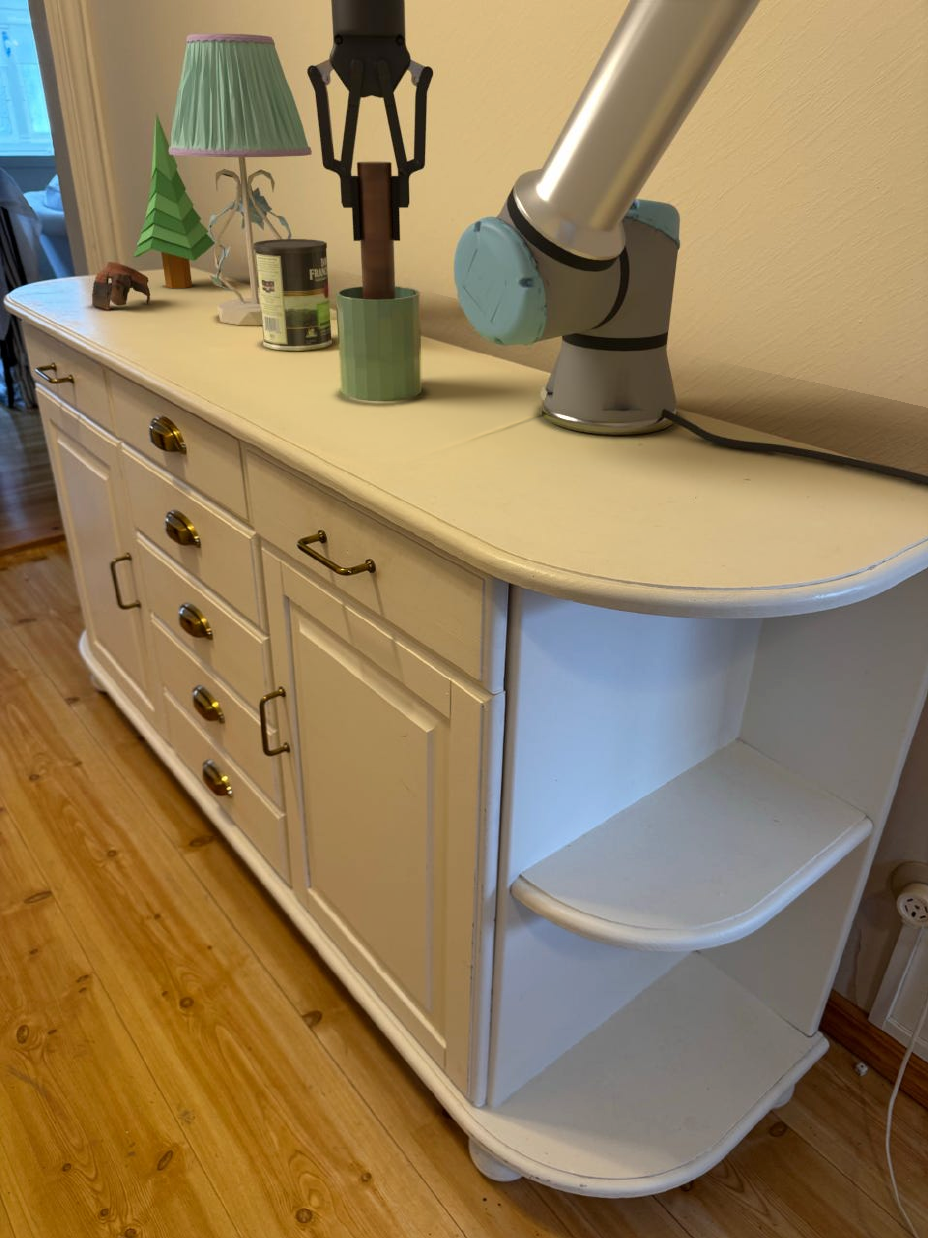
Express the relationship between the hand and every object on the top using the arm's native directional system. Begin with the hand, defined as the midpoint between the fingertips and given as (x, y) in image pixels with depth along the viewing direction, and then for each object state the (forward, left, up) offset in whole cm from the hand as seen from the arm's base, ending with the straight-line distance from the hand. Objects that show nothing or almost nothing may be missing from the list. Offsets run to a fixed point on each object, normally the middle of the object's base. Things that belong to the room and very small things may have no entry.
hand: (377, 238), depth 106 cm
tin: (0, 0, -18) cm, 18 cm away
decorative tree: (+85, -28, -18) cm, 91 cm away
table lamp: (+49, -19, -18) cm, 56 cm away
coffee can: (+29, -11, -18) cm, 36 cm away
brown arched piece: (+74, -9, -18) cm, 77 cm away
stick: (0, 0, -13) cm, 13 cm away
